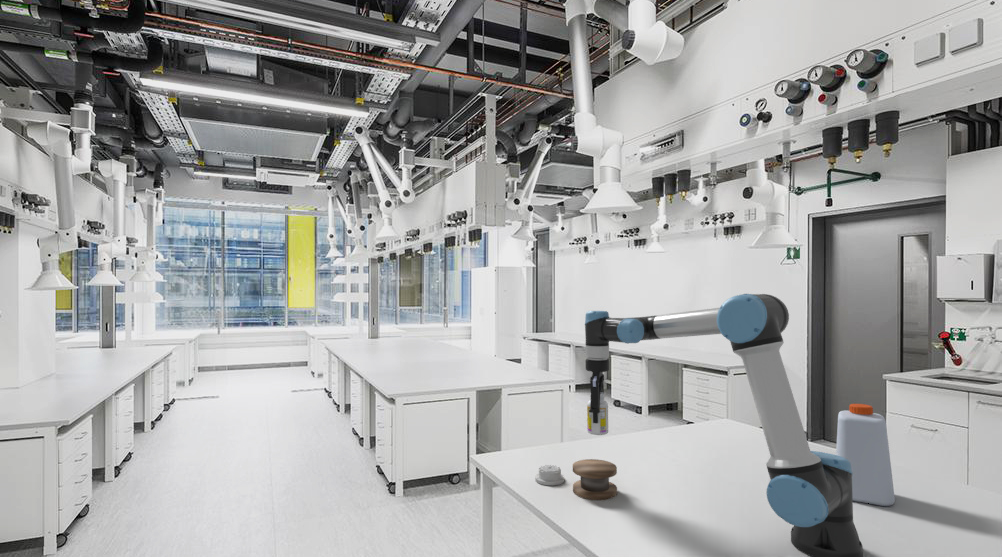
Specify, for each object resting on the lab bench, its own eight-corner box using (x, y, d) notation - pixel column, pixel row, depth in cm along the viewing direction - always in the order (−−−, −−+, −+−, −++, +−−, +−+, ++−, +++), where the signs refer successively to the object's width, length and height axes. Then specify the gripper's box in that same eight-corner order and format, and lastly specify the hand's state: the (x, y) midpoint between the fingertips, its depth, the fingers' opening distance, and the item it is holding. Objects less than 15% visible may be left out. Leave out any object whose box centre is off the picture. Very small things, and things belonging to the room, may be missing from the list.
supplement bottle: (593, 429, 170) (593, 390, 170) (611, 432, 165) (611, 392, 166) (583, 433, 165) (583, 393, 165) (601, 437, 160) (601, 395, 161)
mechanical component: (541, 474, 182) (530, 483, 173) (541, 461, 182) (530, 470, 173) (568, 478, 177) (558, 488, 168) (568, 465, 177) (558, 474, 168)
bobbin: (624, 497, 159) (624, 471, 159) (581, 501, 156) (581, 475, 157) (606, 481, 173) (606, 457, 173) (567, 485, 170) (566, 460, 170)
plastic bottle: (892, 493, 161) (889, 403, 162) (896, 510, 149) (892, 413, 149) (835, 483, 170) (832, 398, 170) (834, 498, 157) (831, 407, 158)
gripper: (590, 354, 176) (590, 421, 176) (580, 362, 158) (580, 437, 157) (612, 355, 174) (613, 423, 173) (604, 363, 155) (605, 439, 155)
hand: (597, 429), depth 165 cm, fingers closed on supplement bottle, 7 cm apart
